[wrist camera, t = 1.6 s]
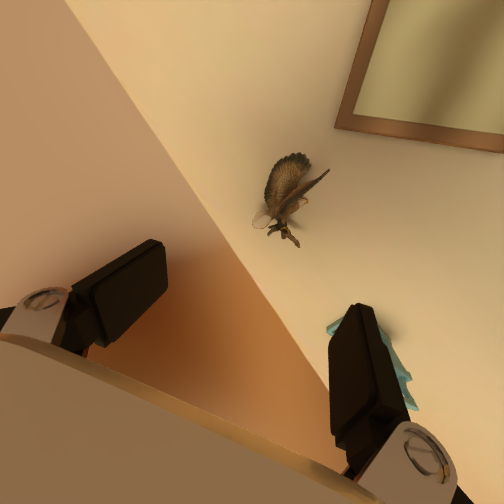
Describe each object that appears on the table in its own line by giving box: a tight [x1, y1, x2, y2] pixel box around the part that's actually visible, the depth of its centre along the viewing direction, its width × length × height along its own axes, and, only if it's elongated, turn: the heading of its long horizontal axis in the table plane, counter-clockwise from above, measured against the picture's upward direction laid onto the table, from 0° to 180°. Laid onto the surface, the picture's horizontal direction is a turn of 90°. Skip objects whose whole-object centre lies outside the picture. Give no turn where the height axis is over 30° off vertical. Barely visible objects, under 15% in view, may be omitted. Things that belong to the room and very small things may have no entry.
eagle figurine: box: [252, 152, 330, 248], centre depth 24 cm, size 8×7×9 cm
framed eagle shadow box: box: [334, 0, 504, 154], centre depth 14 cm, size 15×15×5 cm
